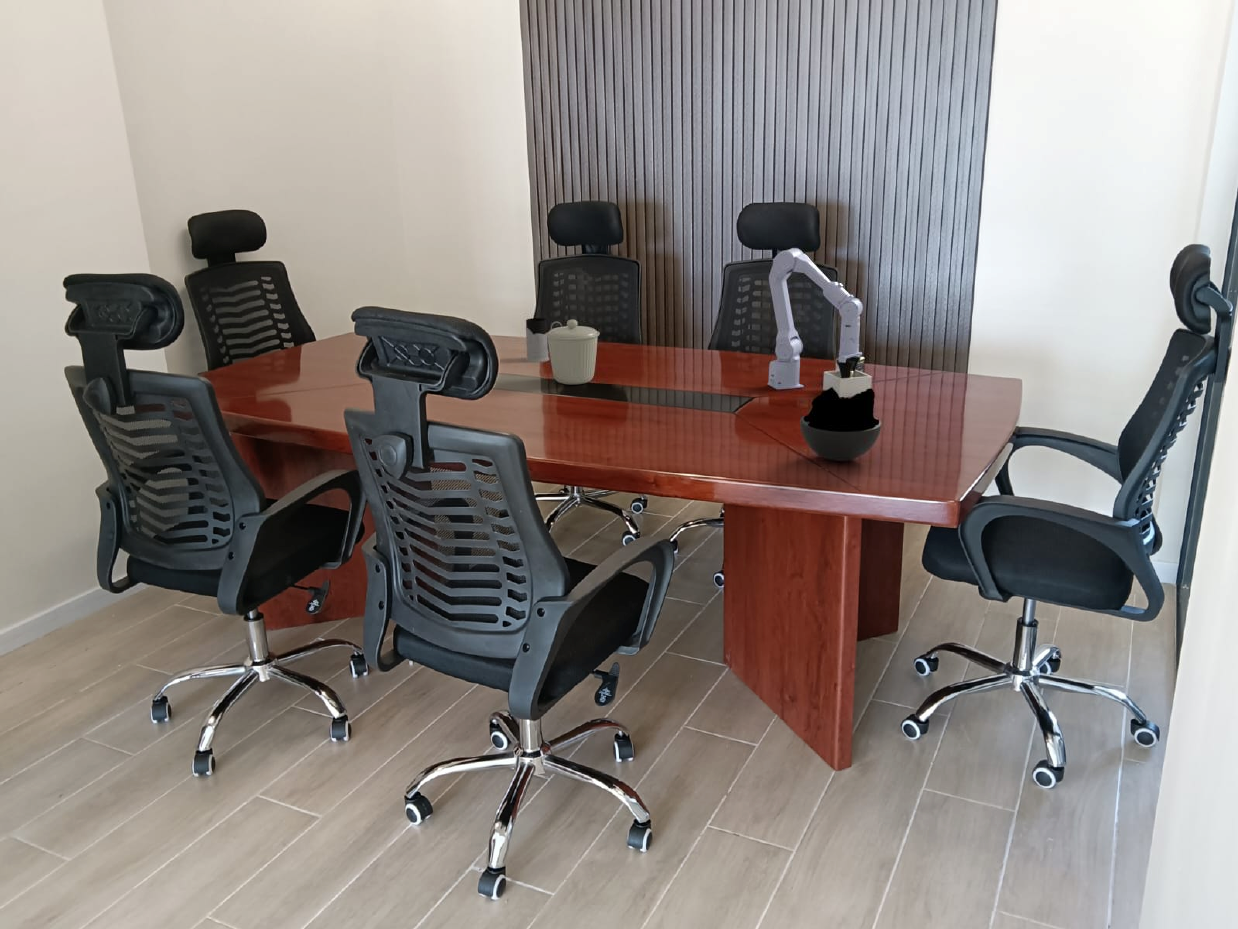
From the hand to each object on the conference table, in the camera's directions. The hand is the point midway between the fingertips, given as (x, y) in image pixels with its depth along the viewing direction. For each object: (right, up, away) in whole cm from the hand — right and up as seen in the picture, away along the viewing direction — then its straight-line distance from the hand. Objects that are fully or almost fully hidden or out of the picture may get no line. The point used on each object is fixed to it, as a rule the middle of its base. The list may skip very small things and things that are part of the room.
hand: (847, 380), depth 320 cm
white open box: (0, -4, +1) cm, 4 cm away
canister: (-88, +1, +22) cm, 91 cm away
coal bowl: (-17, -26, -64) cm, 71 cm away
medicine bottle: (+5, +2, +19) cm, 20 cm away
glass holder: (-100, +13, +57) cm, 116 cm away
